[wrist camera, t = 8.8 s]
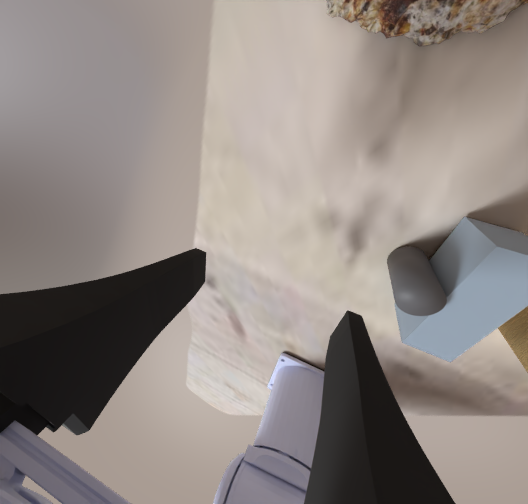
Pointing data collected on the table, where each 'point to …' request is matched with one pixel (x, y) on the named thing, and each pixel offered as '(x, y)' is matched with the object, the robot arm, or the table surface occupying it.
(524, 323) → the brass block
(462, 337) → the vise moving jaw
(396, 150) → the table surface
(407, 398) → the table surface
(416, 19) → the mineral rock
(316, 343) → the table surface
